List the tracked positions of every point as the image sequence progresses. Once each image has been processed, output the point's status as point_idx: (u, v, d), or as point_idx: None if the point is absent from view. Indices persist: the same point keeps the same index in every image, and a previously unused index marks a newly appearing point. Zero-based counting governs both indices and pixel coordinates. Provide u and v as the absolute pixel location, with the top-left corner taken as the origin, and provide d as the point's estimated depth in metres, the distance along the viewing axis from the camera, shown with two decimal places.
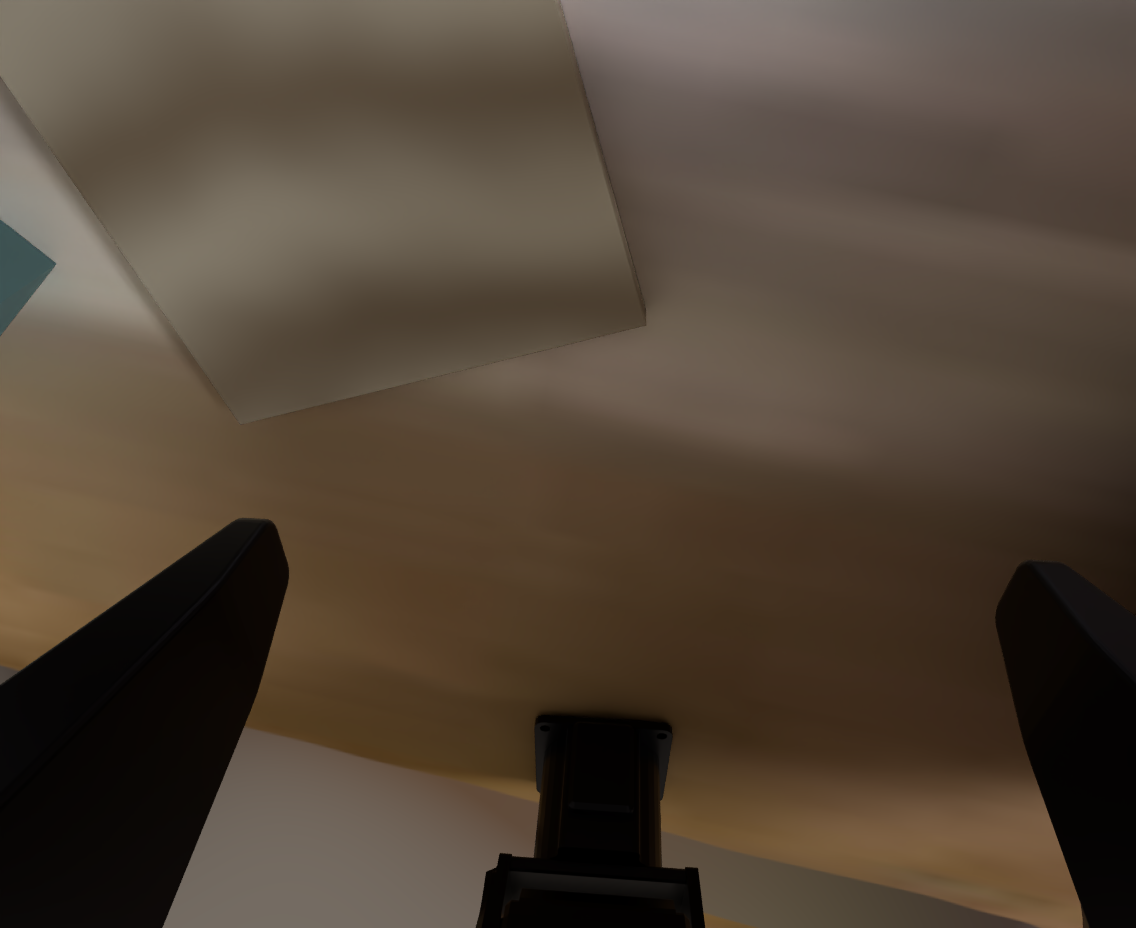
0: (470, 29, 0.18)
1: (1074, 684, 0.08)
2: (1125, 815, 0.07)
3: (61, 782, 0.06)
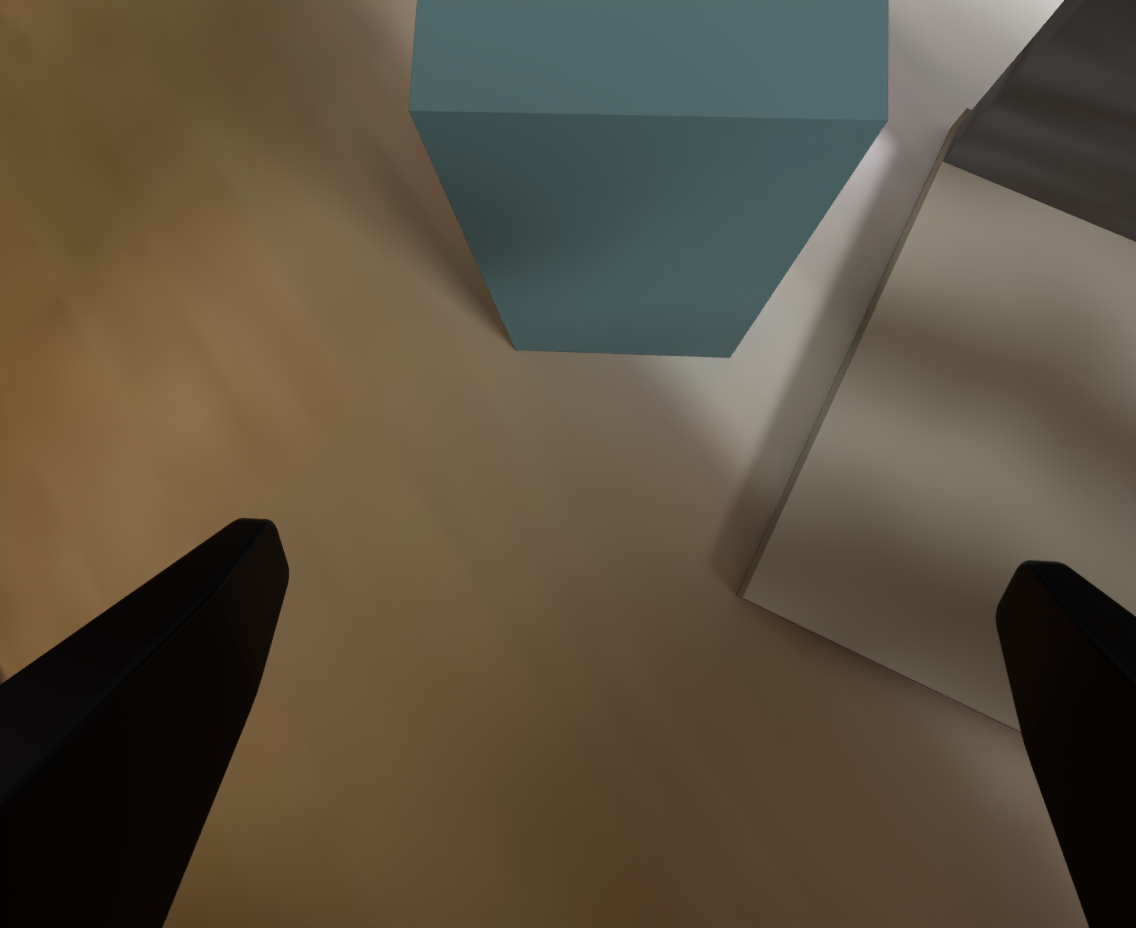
0: None
1: (1074, 684, 0.08)
2: (1125, 815, 0.07)
3: (61, 782, 0.06)
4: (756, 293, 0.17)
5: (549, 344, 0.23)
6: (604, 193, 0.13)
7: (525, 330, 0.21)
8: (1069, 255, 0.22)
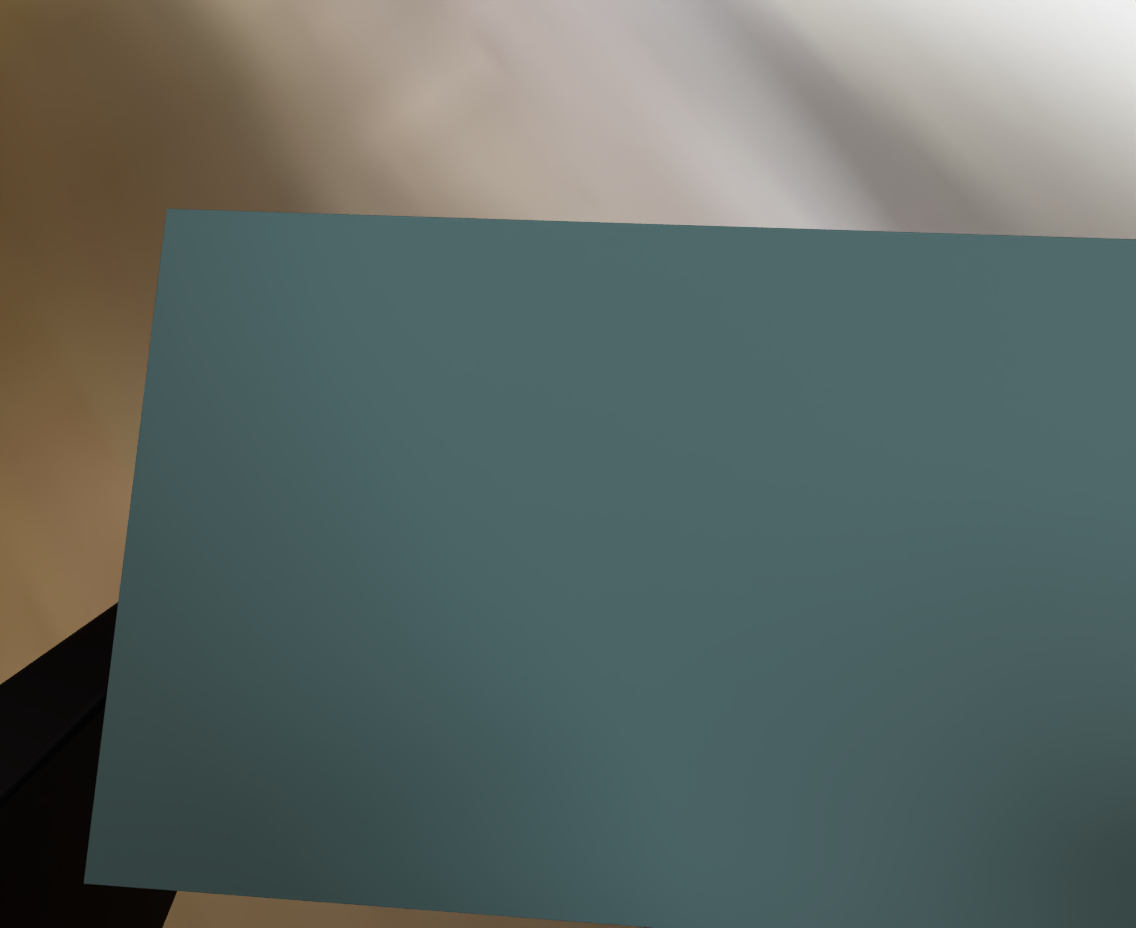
0: None
1: None
2: None
3: (61, 782, 0.06)
4: None
5: None
6: None
7: None
8: None
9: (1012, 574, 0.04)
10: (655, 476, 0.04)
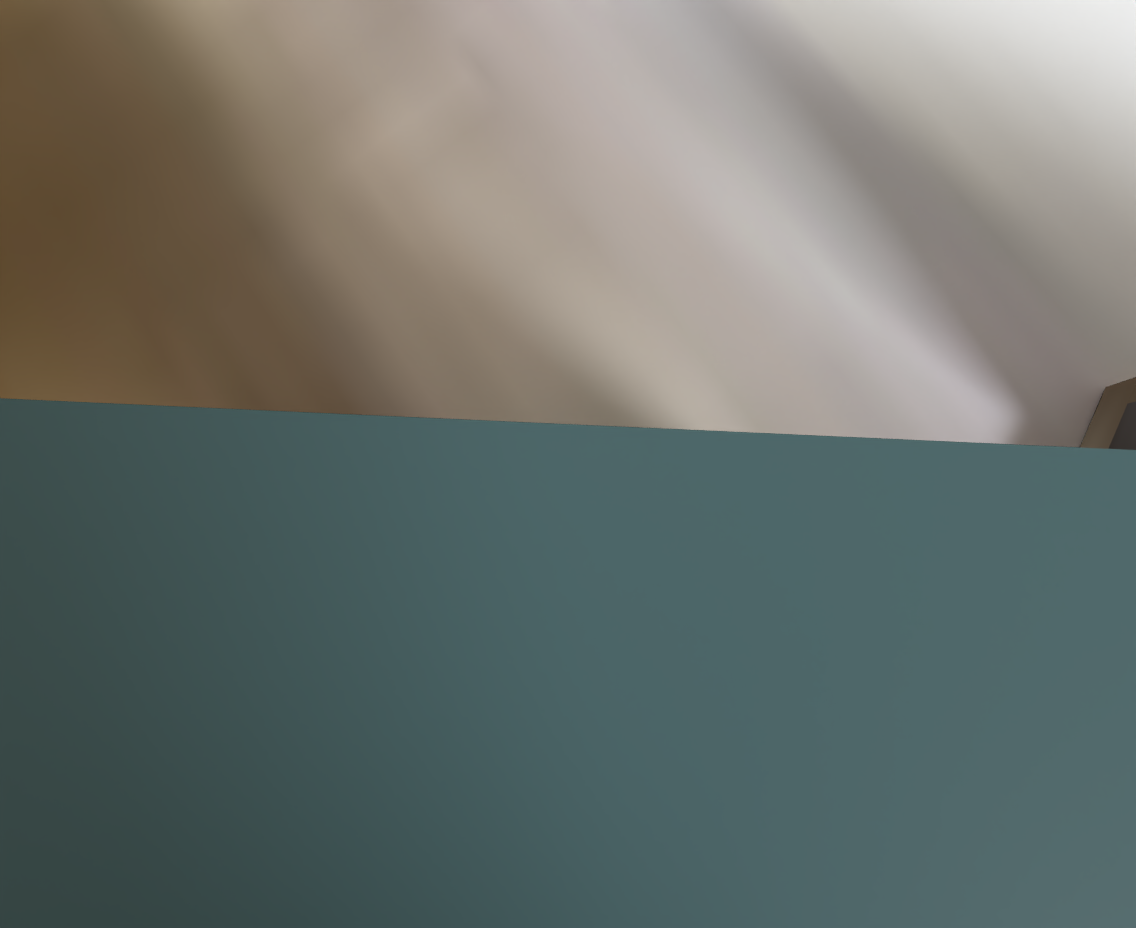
0: None
1: None
2: None
3: None
4: None
5: None
6: None
7: None
8: None
9: None
10: (658, 821, 0.03)
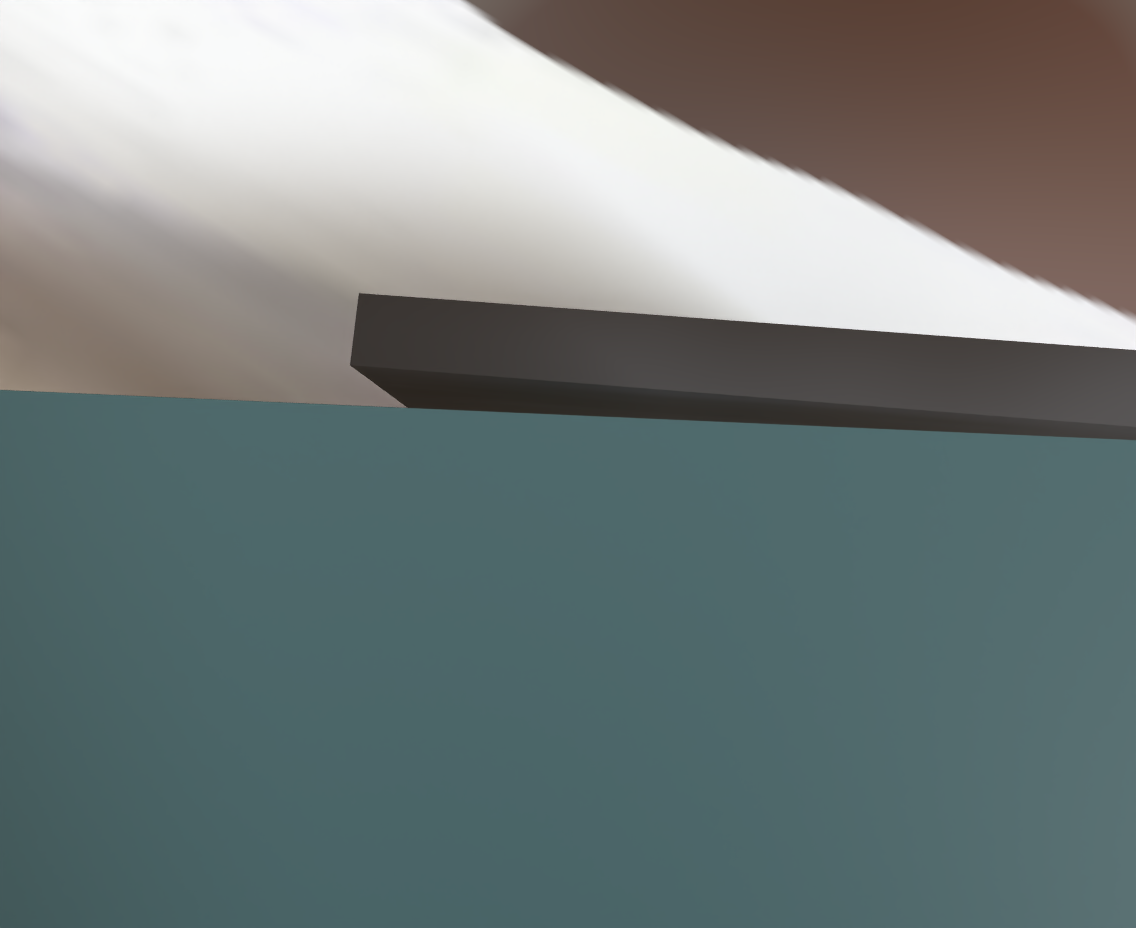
0: None
1: None
2: None
3: None
4: None
5: None
6: None
7: None
8: None
9: None
10: (655, 809, 0.03)
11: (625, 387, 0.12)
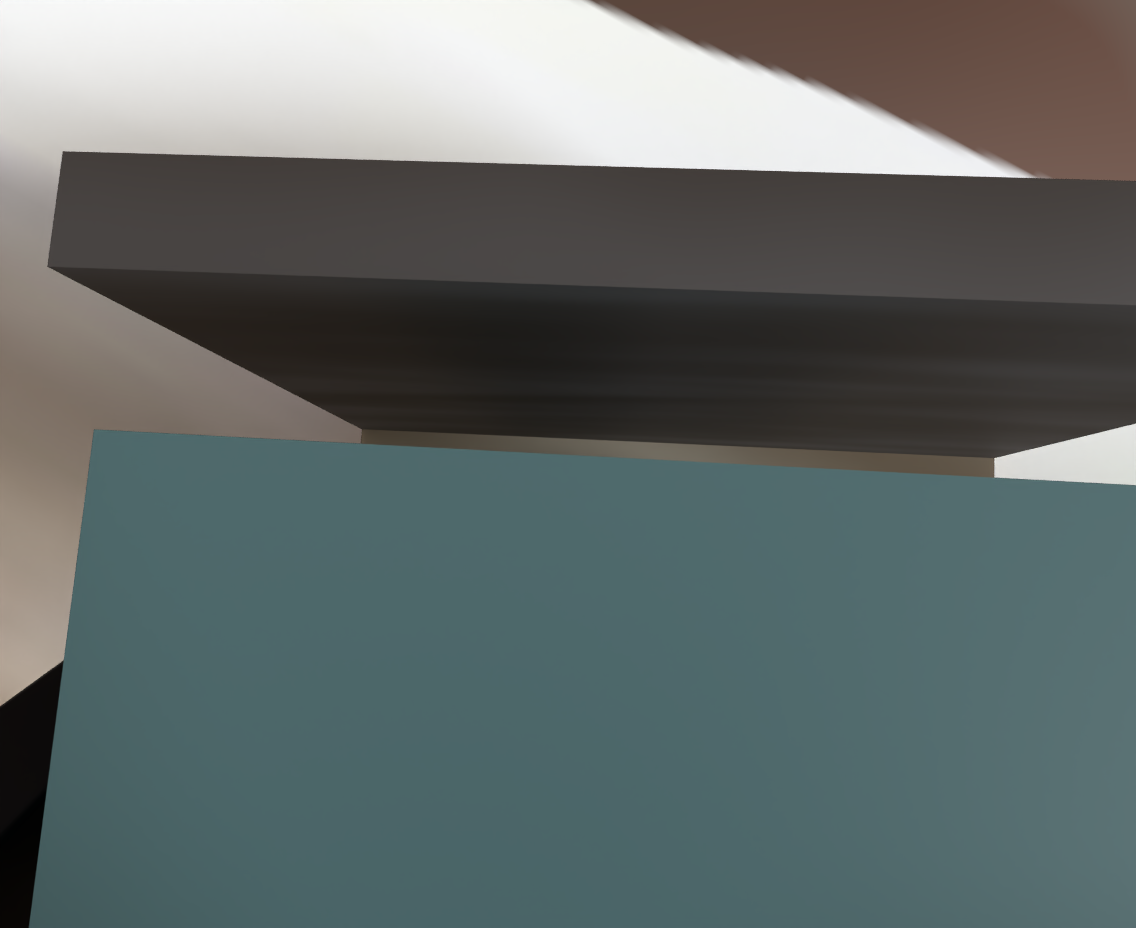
0: None
1: None
2: None
3: None
4: None
5: None
6: None
7: None
8: None
9: (1054, 885, 0.04)
10: (644, 758, 0.04)
11: (495, 284, 0.07)
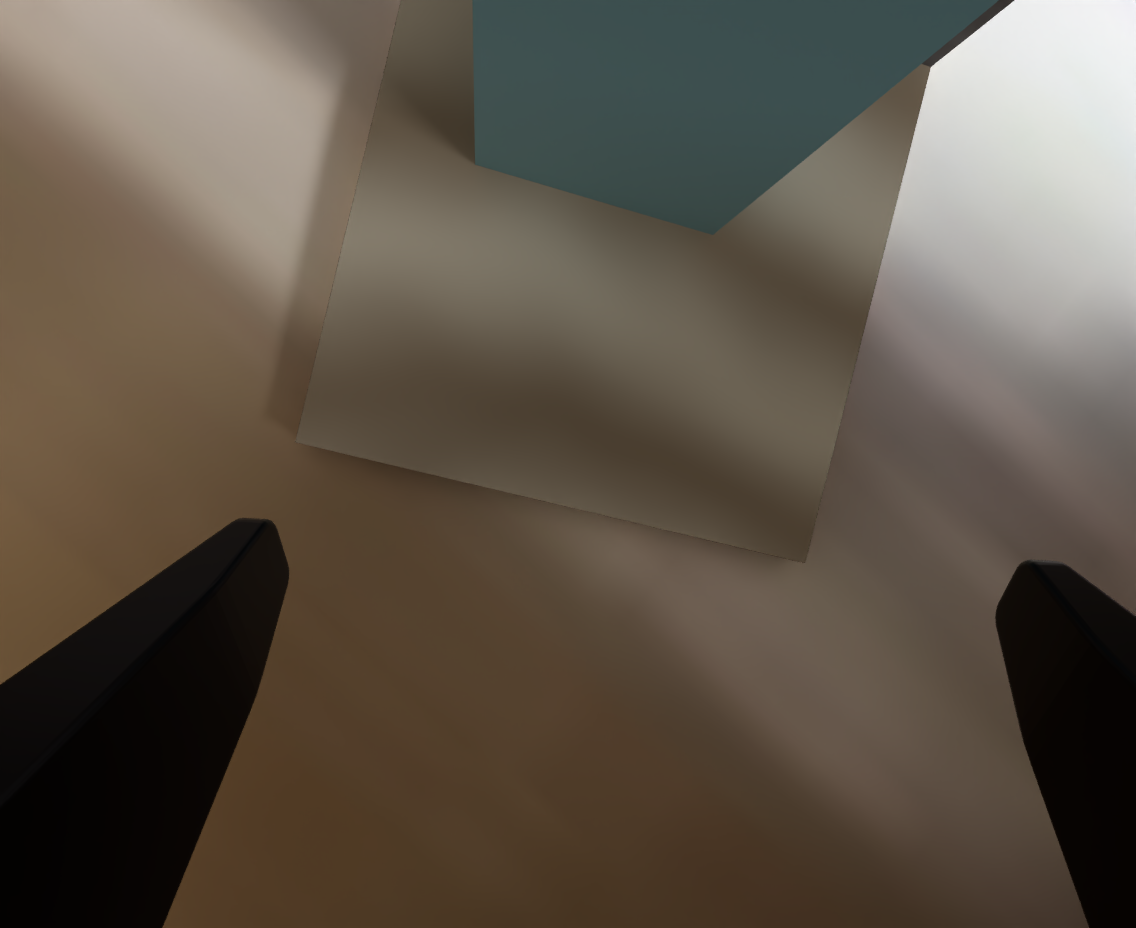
0: (811, 238, 0.21)
1: (1074, 684, 0.08)
2: (1125, 815, 0.07)
3: (61, 782, 0.06)
4: (788, 154, 0.15)
5: (518, 166, 0.19)
6: None
7: (497, 139, 0.18)
8: None
9: None
10: None
11: None
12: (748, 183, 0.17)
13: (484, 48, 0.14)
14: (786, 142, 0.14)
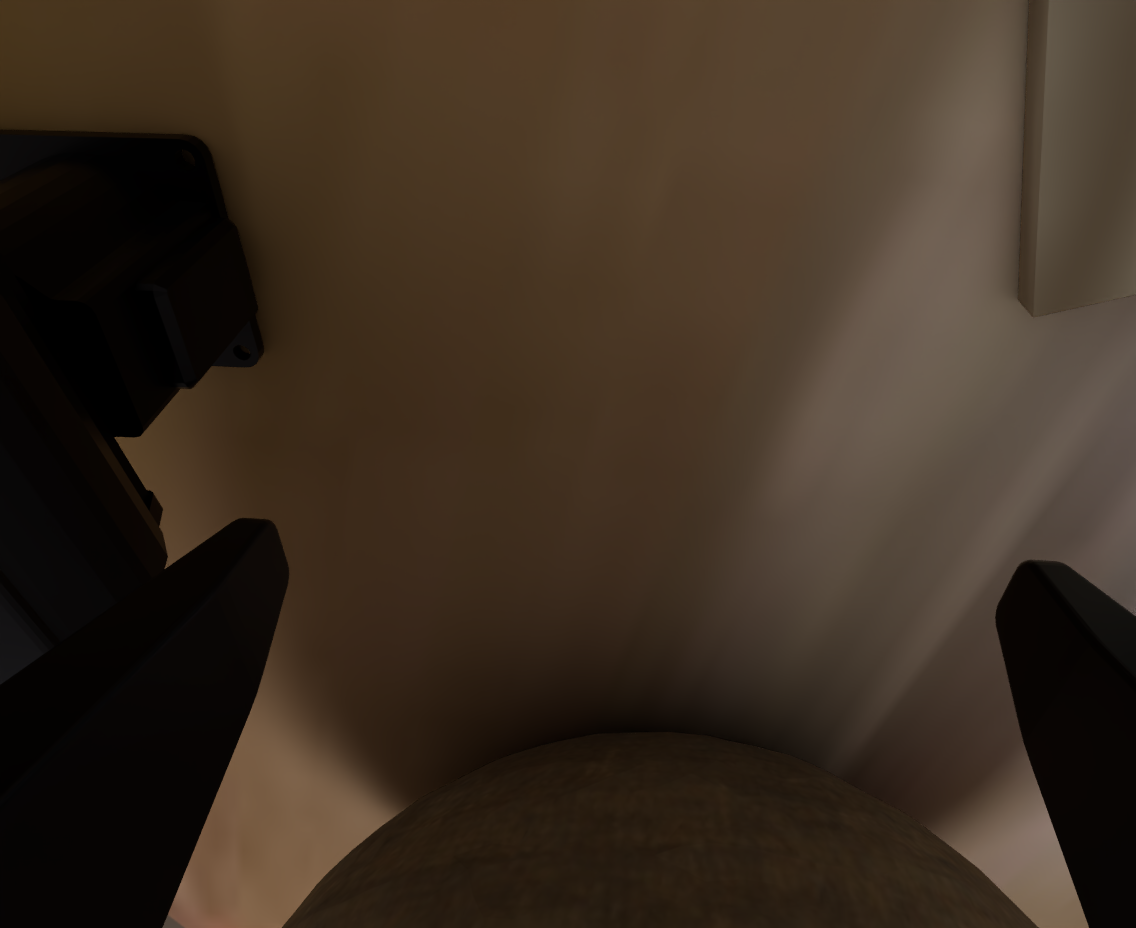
0: None
1: (1074, 684, 0.08)
2: (1125, 815, 0.07)
3: (61, 782, 0.06)
4: None
5: None
6: None
7: None
8: None
9: None
10: None
11: None
12: None
13: None
14: None
